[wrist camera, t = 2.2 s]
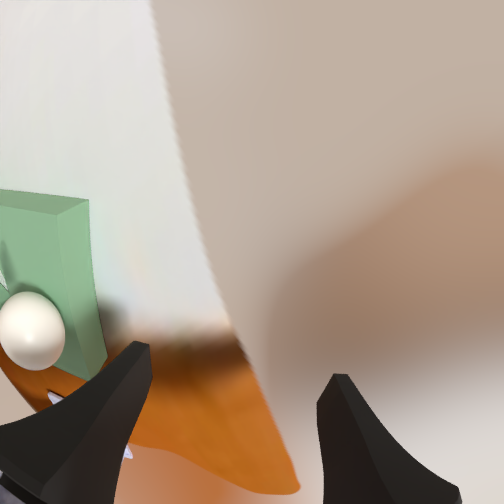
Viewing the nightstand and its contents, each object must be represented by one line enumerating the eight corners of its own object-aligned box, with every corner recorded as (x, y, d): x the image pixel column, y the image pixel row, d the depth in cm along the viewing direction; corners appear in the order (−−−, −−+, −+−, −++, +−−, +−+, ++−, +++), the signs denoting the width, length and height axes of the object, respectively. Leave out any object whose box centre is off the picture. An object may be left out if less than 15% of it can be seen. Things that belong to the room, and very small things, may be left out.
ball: (84, 347, 11) (51, 397, 8) (36, 326, 11) (2, 367, 8) (70, 287, 10) (22, 338, 6) (20, 270, 10) (-26, 308, 6)
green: (107, 356, 15) (92, 383, 12) (-12, 301, 14) (-28, 316, 12) (88, 199, 11) (56, 215, 8) (-35, 186, 10) (-57, 195, 8)
